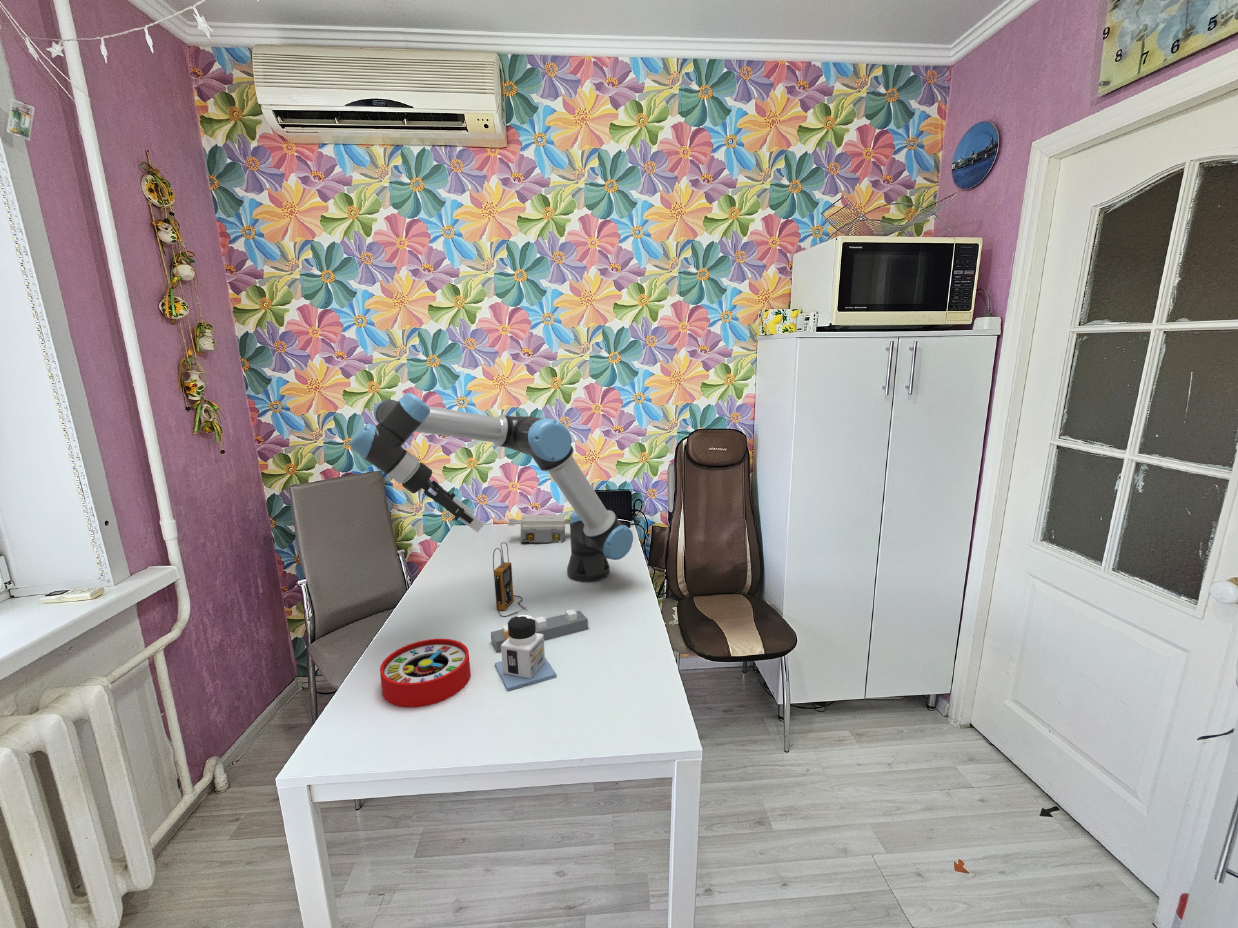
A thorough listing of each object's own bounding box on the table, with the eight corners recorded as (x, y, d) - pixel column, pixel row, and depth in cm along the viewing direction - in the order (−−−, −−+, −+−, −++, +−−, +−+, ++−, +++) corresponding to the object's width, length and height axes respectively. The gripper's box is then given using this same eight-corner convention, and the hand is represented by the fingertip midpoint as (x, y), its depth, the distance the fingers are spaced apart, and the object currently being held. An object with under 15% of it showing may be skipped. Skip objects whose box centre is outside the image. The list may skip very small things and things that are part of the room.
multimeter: (522, 618, 160) (518, 554, 156) (491, 616, 162) (486, 552, 158) (539, 597, 174) (536, 538, 170) (510, 595, 176) (506, 536, 172)
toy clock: (359, 676, 122) (417, 633, 141) (362, 699, 123) (419, 654, 142) (435, 690, 116) (484, 644, 135) (437, 715, 117) (486, 665, 136)
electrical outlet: (509, 536, 233) (509, 514, 231) (575, 536, 237) (575, 514, 236) (507, 545, 222) (507, 522, 220) (577, 544, 226) (577, 521, 224)
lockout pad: (540, 653, 141) (540, 650, 140) (556, 676, 130) (556, 673, 130) (494, 665, 135) (494, 662, 135) (507, 691, 125) (507, 688, 125)
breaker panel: (580, 620, 158) (579, 604, 157) (588, 628, 153) (587, 612, 152) (491, 642, 147) (490, 625, 146) (496, 652, 141) (495, 634, 141)
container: (531, 679, 128) (528, 628, 125) (502, 674, 130) (498, 624, 128) (545, 662, 135) (542, 613, 133) (518, 657, 137) (515, 609, 135)
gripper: (396, 475, 146) (457, 520, 156) (405, 495, 124) (475, 546, 134) (415, 454, 148) (474, 500, 157) (427, 470, 126) (495, 522, 135)
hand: (475, 521), depth 146 cm, fingers open, 13 cm apart
